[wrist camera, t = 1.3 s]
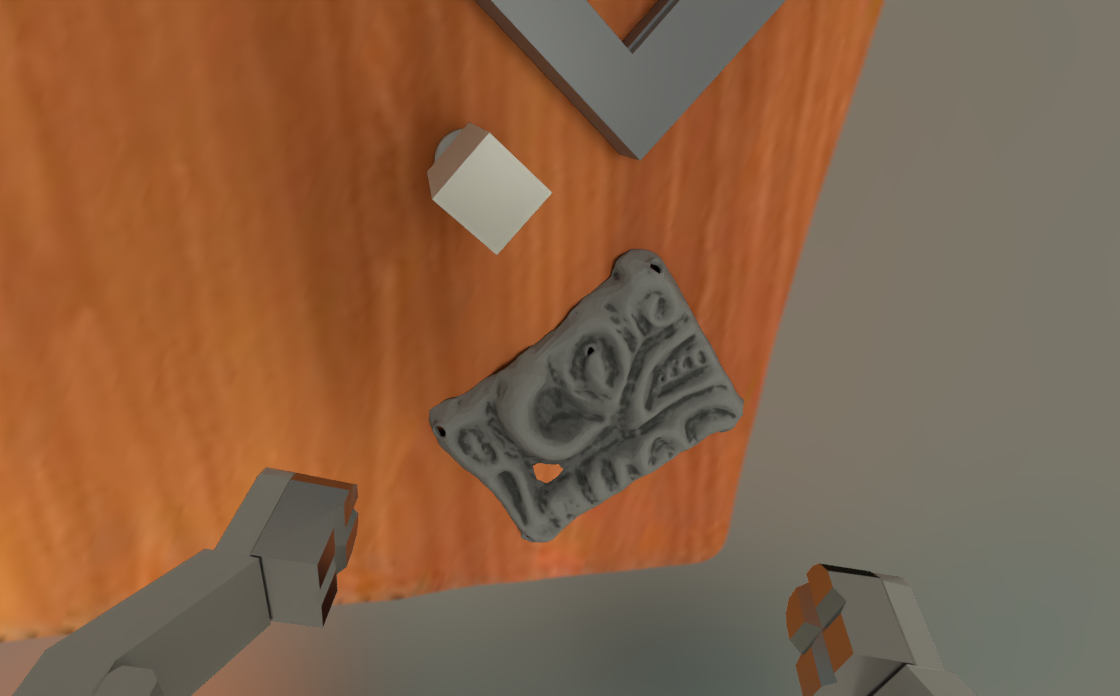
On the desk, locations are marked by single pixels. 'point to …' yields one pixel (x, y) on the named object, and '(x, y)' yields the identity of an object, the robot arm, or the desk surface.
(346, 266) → the desk surface
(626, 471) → the wall plaque
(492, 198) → the post
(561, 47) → the keyhole plate
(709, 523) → the desk surface
